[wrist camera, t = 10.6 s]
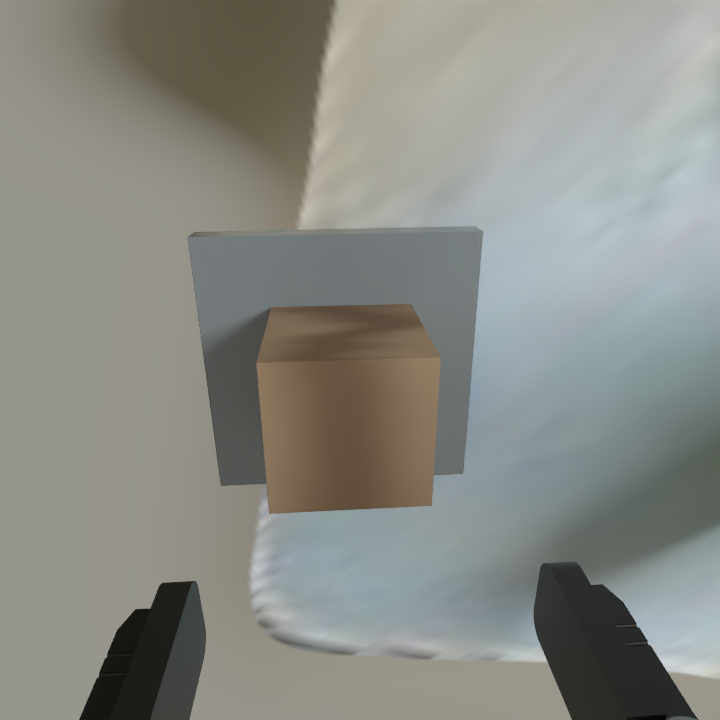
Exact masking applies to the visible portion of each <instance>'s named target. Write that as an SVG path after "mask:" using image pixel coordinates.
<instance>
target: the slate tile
mask: <svg viewBox="0 0 720 720" xmlns="http://www.w3.org/2000/svg"><path fill="white" fill-rule="evenodd" d="M482 236H483V231H482V230H480V229H478V228H477V227H429V228H379V229H329V230H283V231H282V230H280V231H228V232H194V233H192V234H191V235H190V236H189V237H188V244H189V251H190V258H191V266H192V274H193V281H194V288H195V295H196V303H197V311H198V318H199V326H200V333H201V340H202V348H203V356H204V363H205V370H206V377H207V385H208V393H209V400H210V408H211V415H212V423H213V430H214V437H215V445H216V452H217V460H218V467H219V475H220V482H221V486H226V485H243V484H244V485H245V484H266V483H267V481H266V469H265V457H264V446H263V434H262V422H261V411H260V399H259V388H258V376H257V364H256V362H257V359H258V355H259V351H260V348H261V344H262V340H263V337H264V333H265V329H266V326H267V322H268V318H269V314H270V311H271V307H299V306H341V305H383V304H412V306H413V308H414V310H415V311H416V313H417V315H418V317H419V319H420V321H421V322H422V324H423V326H424V328H425V330H426V331H427V333H428V335H429V337H430V339H431V340H432V342H433V344H434V346H435V348H436V349H437V351H438V353H439V355H440V357H441V362H440V379H439V395H438V411H437V427H436V443H435V459H434V475H445V474H463V468H464V456H465V444H466V431H467V419H468V407H469V395H470V383H471V370H472V358H473V346H474V334H475V322H476V309H477V297H478V285H479V273H480V261H481V249H482Z"/></svg>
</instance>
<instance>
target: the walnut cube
mask: <svg viewBox="0 0 720 720" xmlns="http://www.w3.org/2000/svg"><path fill="white" fill-rule="evenodd" d="M440 362H441V357H440V355H439V353H438V351H437V349H436V348H435V346H434V344H433V342H432V340H431V339H430V337H429V335H428V333H427V331H426V330H425V328H424V326H423V324H422V322H421V321H420V319H419V317H418V315H417V313H416V311H415V310H414V308H413V306H412V304H383V305H341V306H299V307H271V311H270V314H269V318H268V322H267V326H266V329H265V333H264V337H263V340H262V344H261V348H260V351H259V355H258V359H257V362H256V364H257V376H258V388H259V399H260V411H261V422H262V434H263V446H264V457H265V469H266V481H267V492H268V504H269V514H272V513H292V512H312V511H332V510H353V509H373V508H393V507H413V506H432V491H433V475H434V459H435V443H436V427H437V411H438V395H439V379H440Z"/></svg>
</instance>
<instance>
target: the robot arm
mask: <svg viewBox="0 0 720 720" xmlns="http://www.w3.org/2000/svg"><path fill="white" fill-rule="evenodd" d="M534 624H535V629H536V633H537V637H538V640H539V642H540V645H541V647H542V649H543V652H544V654H545V656H546V659H547V661H548V664H549V666H550V668H551V671H552V673H553V675H554V678H555V680H556V683H557V685H558V687H559V690H560V692H561V694H562V697H563V699H564V702H565V704H566V706H567V708H568V711H569V713H570V716H571V718H572V720H698V719H697V717H696V716H695V714H694V713H693V712H692V710H691V709H690V707H689V705H688V704H687V702H686V701H685V699H684V698H683V696H682V695H681V693H680V692H679V690H678V688H677V687H676V685H675V683H674V682H673V680H672V679H671V677H670V676H669V674H668V672H667V671H666V669H665V668H664V666H663V664H662V663H661V661H660V660H659V658H658V657H657V655H656V653H655V652H654V650H653V649H652V647H651V646H650V645H648V643H647V639H646V638H645V636H644V635H643V633H642V631H641V630H640V628H637V625H636V622H635V620H634V619H633V617H632V616H631V614H630V612H629V611H628V609H627V608H626V606H625V605H624V603H623V602H622V601H621V600H620V599H619V598H618V597H616V596H615V595H614V594H613V593H612V592H611V591H610V590H608V589H607V588H606V587H605V586H604V585H591V584H590V582H589V581H588V579H587V577H586V576H585V574H584V572H583V570H582V569H581V567H580V566H579V565H578V564H577V563H576V562H563V563H544V564H542V566H541V568H540V574H539V580H538V586H537V593H536V599H535V606H534ZM205 645H206V631H205V623H204V618H203V612H202V607H201V601H200V595H199V589H198V585H197V583H196V581H188V582H171V583H170V582H169V583H162V584H161V585H160V586H159V588H158V591H157V593H156V596H155V599H154V601H153V604H152V607H151V609H136V610H135V611H134V612H133V613H132V614H131V615H130V616H129V617H128V619H127V620H126V621H125V622H124V623H123V624H122V625H121V627H120V628H119V629H118V630H117V632H116V634H115V637H114V639H113V642H112V644H111V647H110V649H109V651H108V655H107V658H106V659H105V660H104V663H103V665H102V667H101V670H100V673H99V678H97V679H96V682H95V684H94V686H93V689H92V691H91V693H90V696H89V698H88V700H87V703H86V705H85V707H84V710H83V712H82V715H81V717H80V719H79V720H189V719H190V714H191V710H192V706H193V701H194V697H195V693H196V689H197V685H198V681H199V676H200V672H201V668H202V664H203V659H204V654H205Z"/></svg>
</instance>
